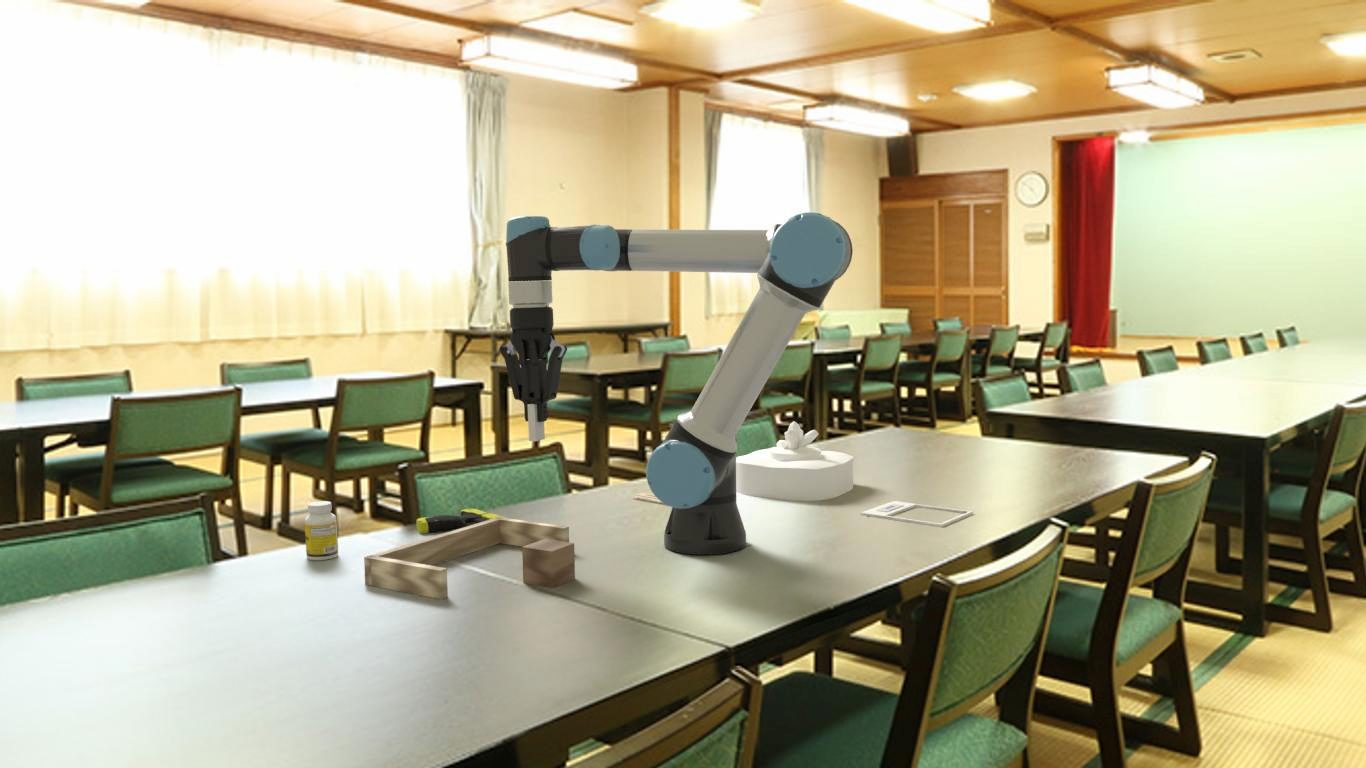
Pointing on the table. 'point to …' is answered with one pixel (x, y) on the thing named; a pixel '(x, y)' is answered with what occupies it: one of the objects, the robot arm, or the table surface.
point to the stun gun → (452, 521)
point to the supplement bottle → (321, 531)
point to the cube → (548, 563)
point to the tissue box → (794, 470)
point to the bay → (449, 554)
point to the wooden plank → (648, 498)
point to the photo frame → (897, 507)
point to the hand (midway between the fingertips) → (536, 439)
